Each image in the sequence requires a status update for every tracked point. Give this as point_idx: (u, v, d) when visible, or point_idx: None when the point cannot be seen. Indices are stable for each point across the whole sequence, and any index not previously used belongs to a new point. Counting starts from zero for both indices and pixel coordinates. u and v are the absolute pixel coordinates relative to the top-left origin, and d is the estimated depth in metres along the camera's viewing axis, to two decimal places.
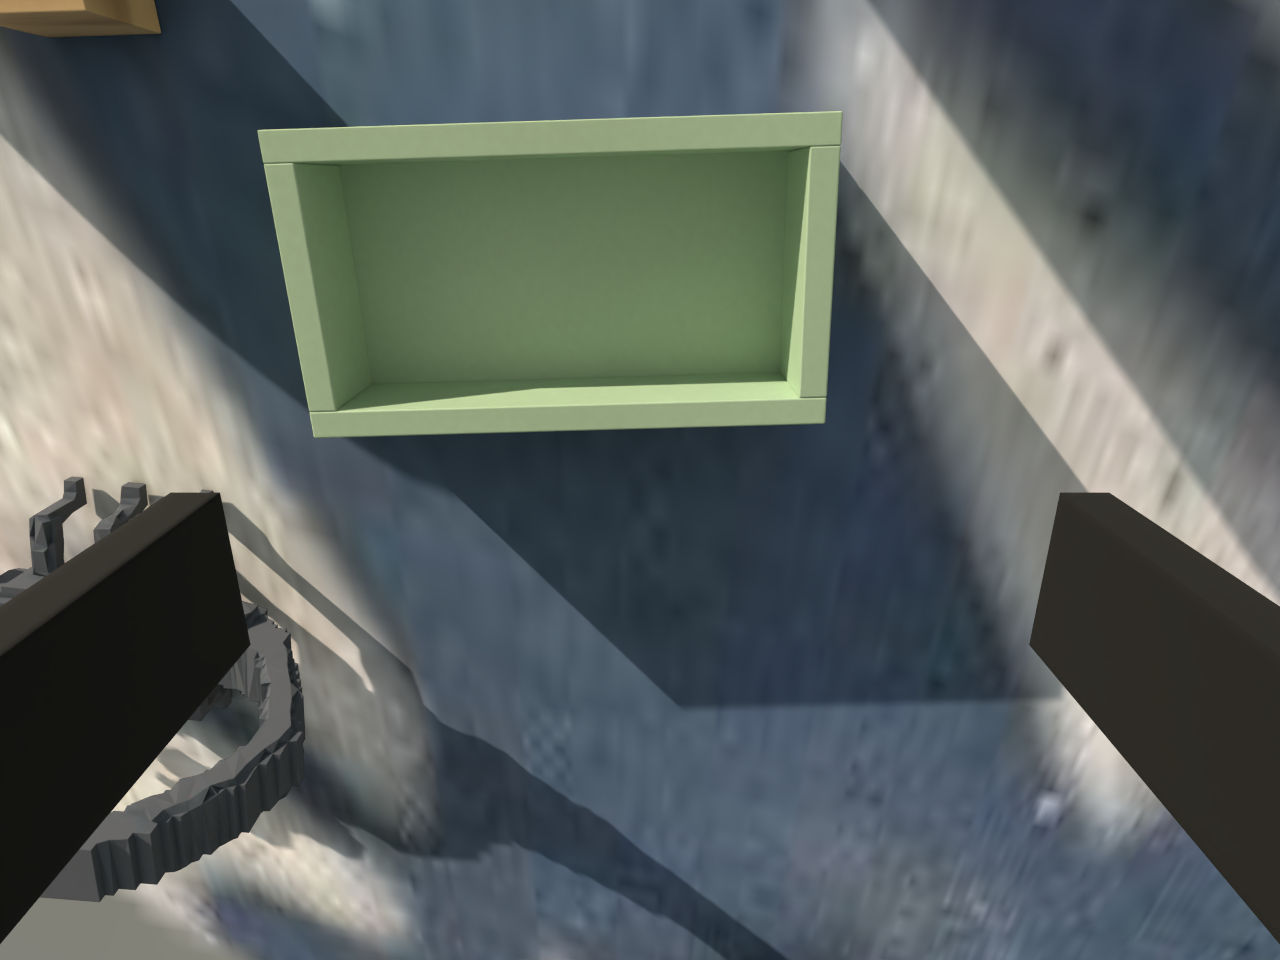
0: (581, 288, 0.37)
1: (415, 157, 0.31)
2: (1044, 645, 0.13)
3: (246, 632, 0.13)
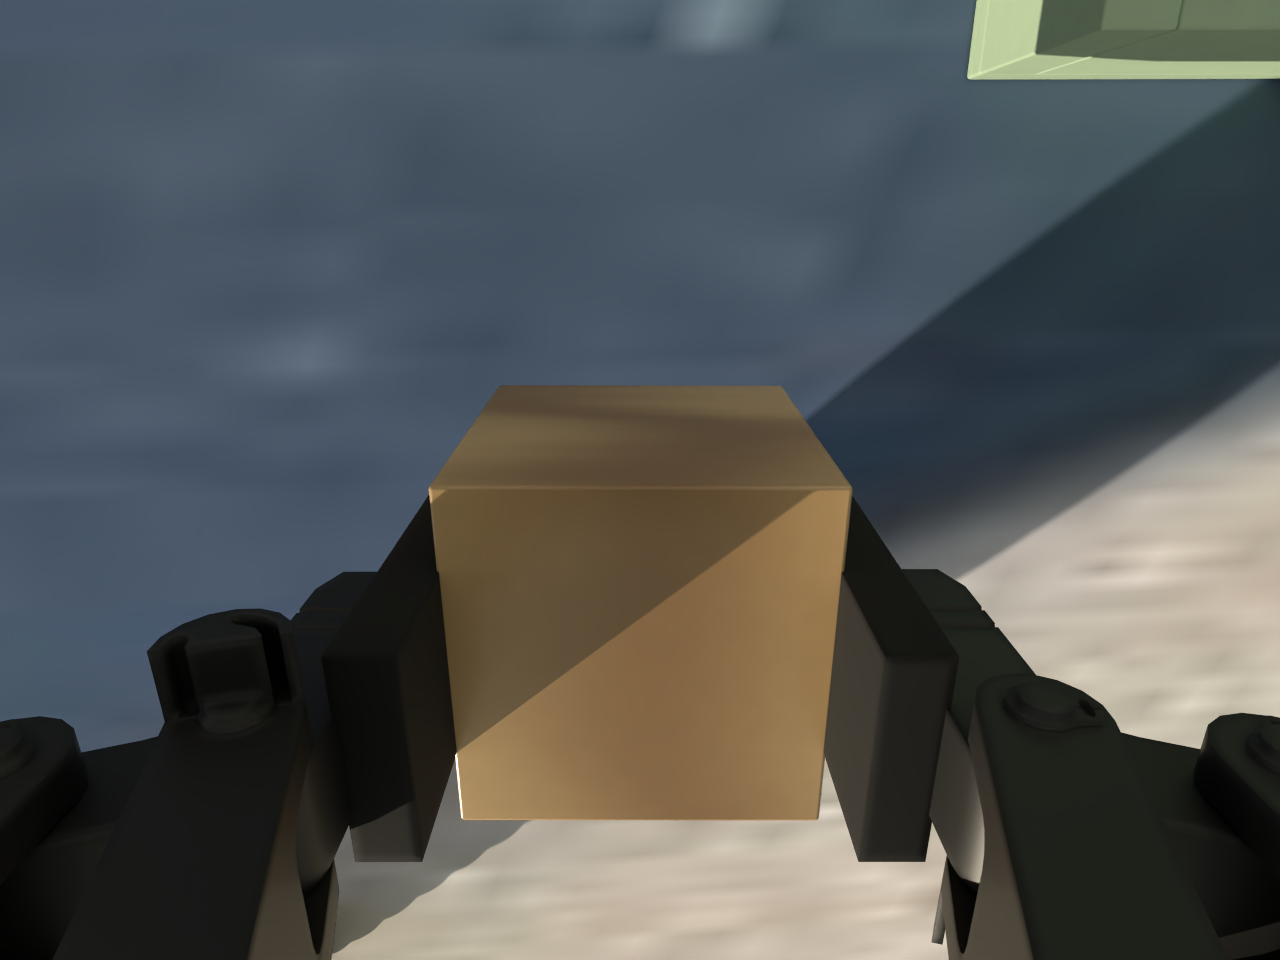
0: None
1: None
2: None
3: None
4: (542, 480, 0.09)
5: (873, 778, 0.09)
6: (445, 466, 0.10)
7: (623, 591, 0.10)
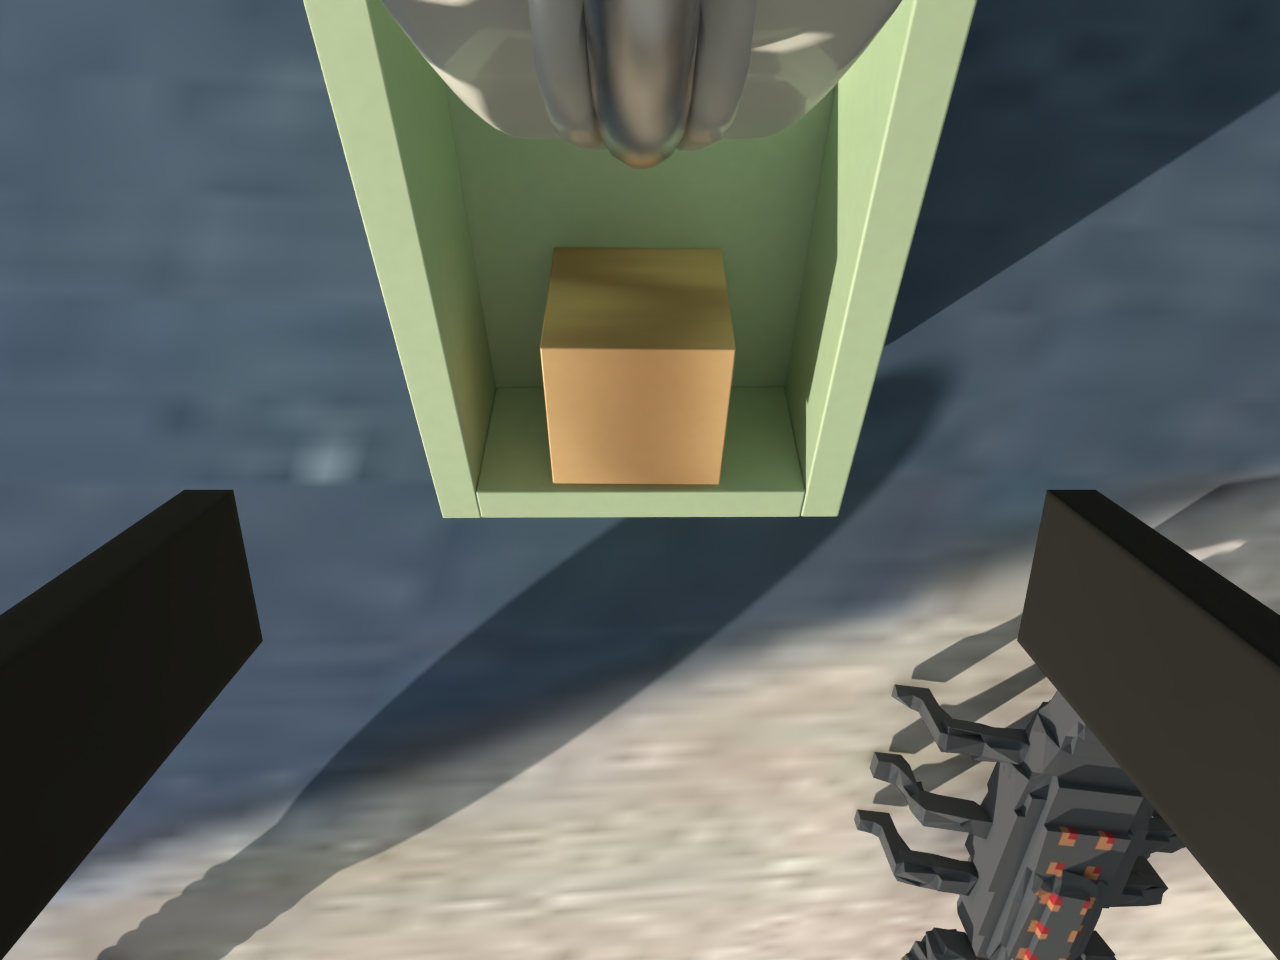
0: None
1: (445, 366, 0.20)
2: (1032, 641, 0.13)
3: (259, 628, 0.13)
4: (592, 343, 0.20)
5: None
6: (543, 331, 0.21)
7: (629, 390, 0.21)
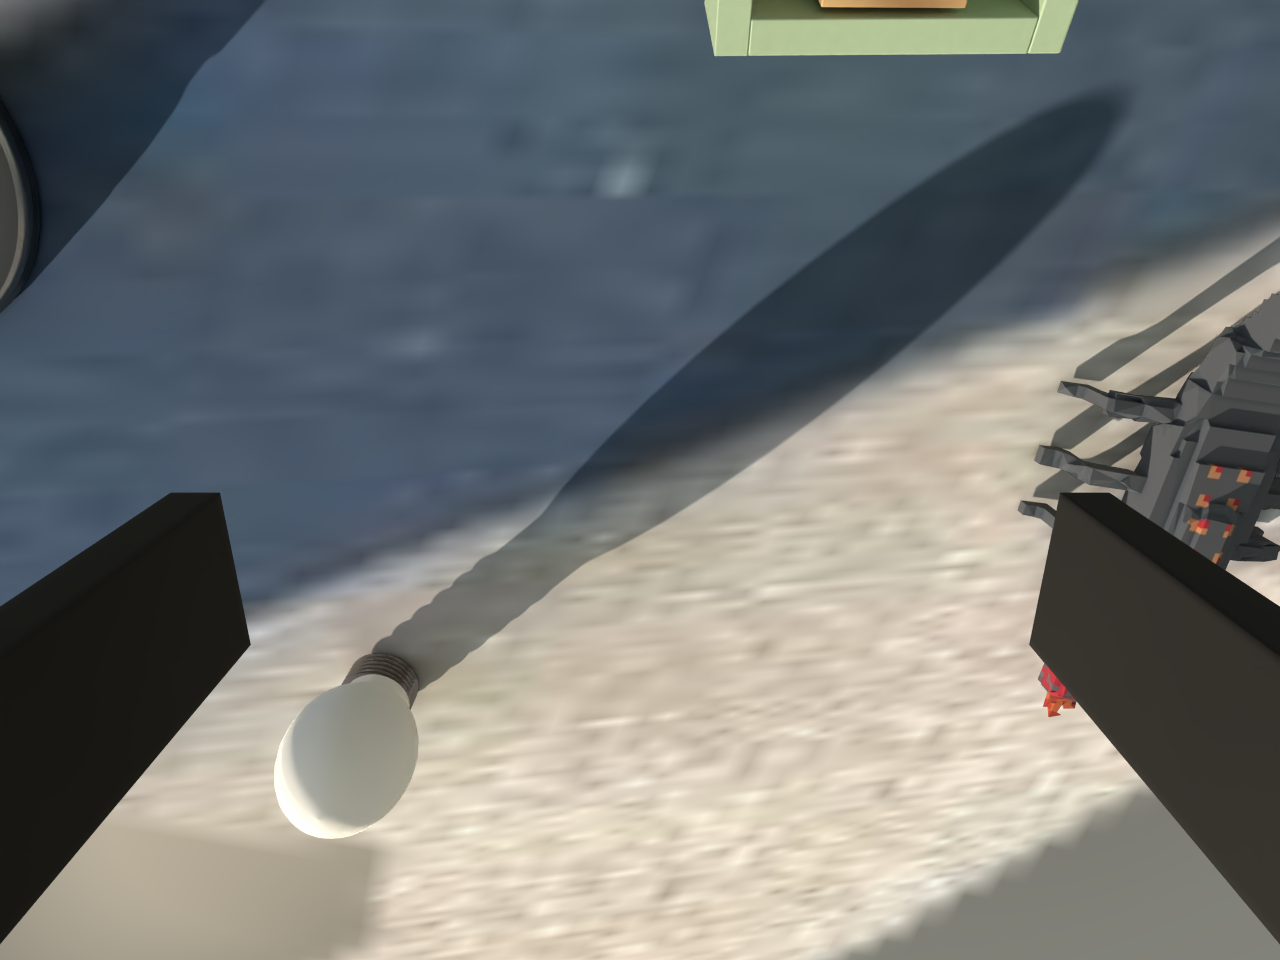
0: None
1: None
2: (1044, 645, 0.13)
3: (246, 632, 0.13)
4: None
5: None
6: None
7: None
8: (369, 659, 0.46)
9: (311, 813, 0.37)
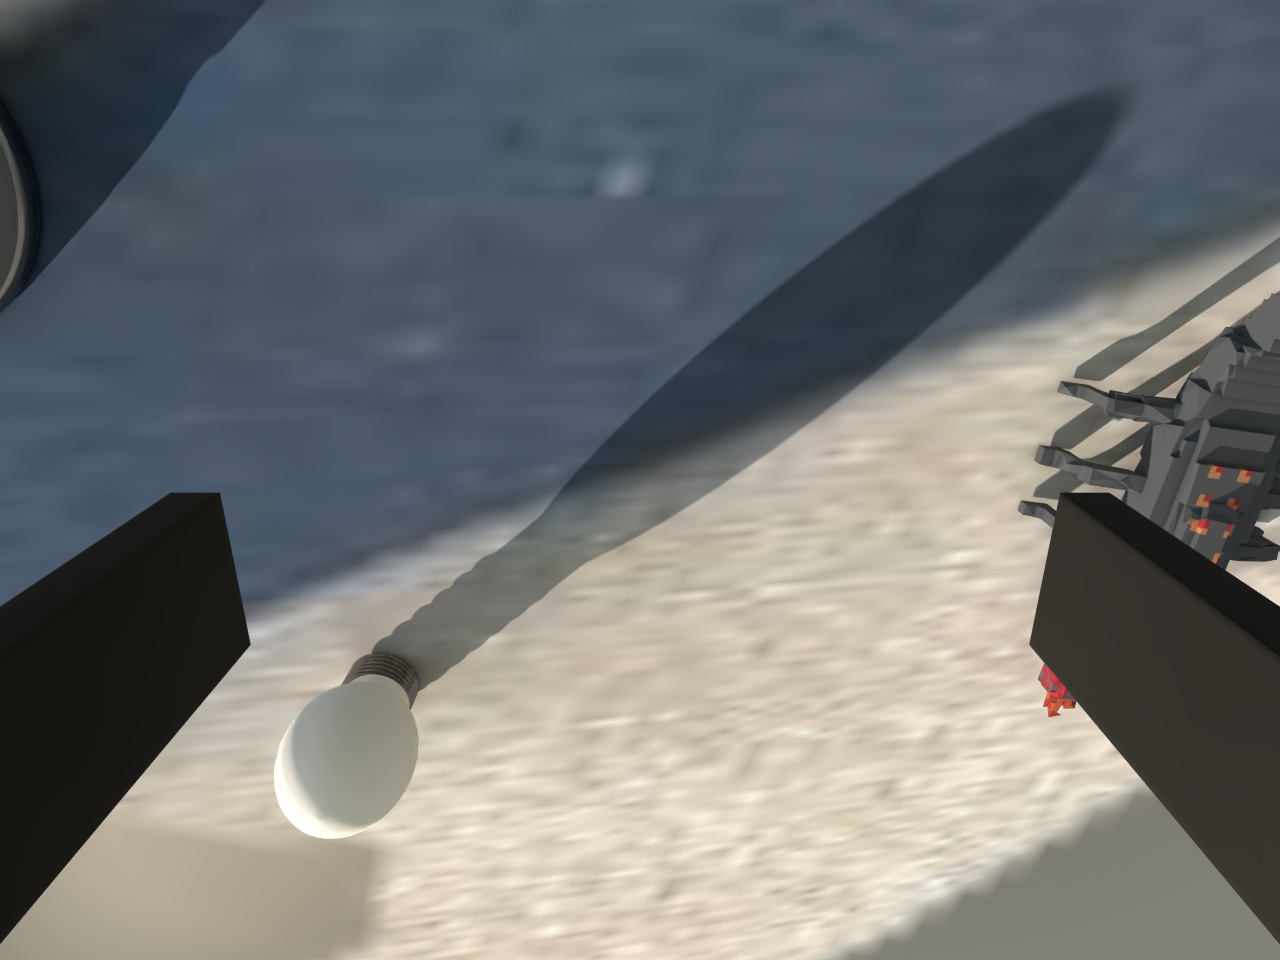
0: None
1: None
2: (1044, 645, 0.13)
3: (246, 632, 0.13)
4: None
5: None
6: None
7: None
8: (369, 659, 0.46)
9: (311, 813, 0.37)
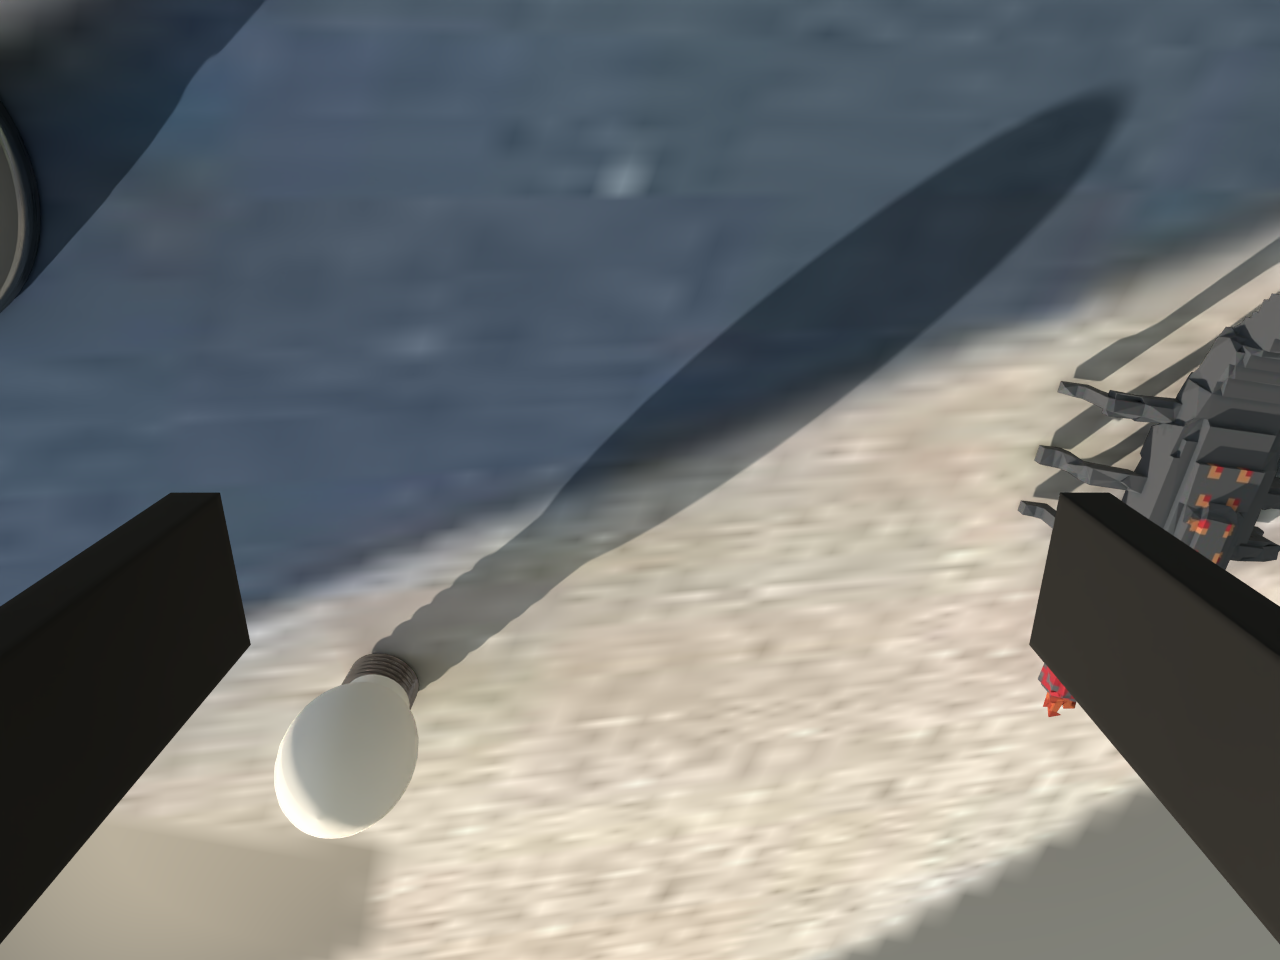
0: None
1: None
2: (1044, 645, 0.13)
3: (246, 632, 0.13)
4: None
5: None
6: None
7: None
8: (369, 659, 0.46)
9: (311, 813, 0.37)
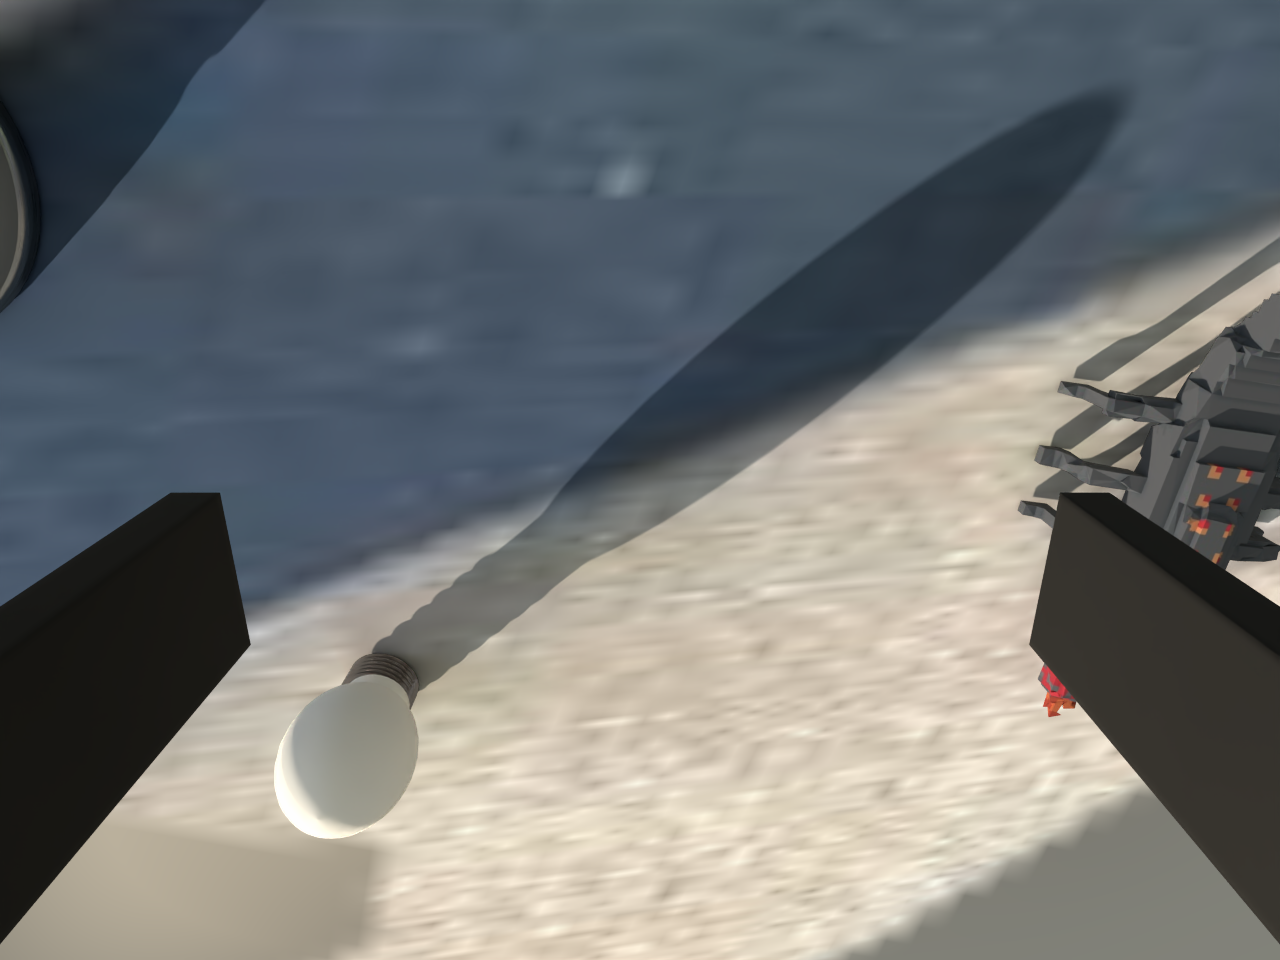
0: None
1: None
2: (1044, 645, 0.13)
3: (246, 632, 0.13)
4: None
5: None
6: None
7: None
8: (369, 659, 0.46)
9: (311, 813, 0.37)
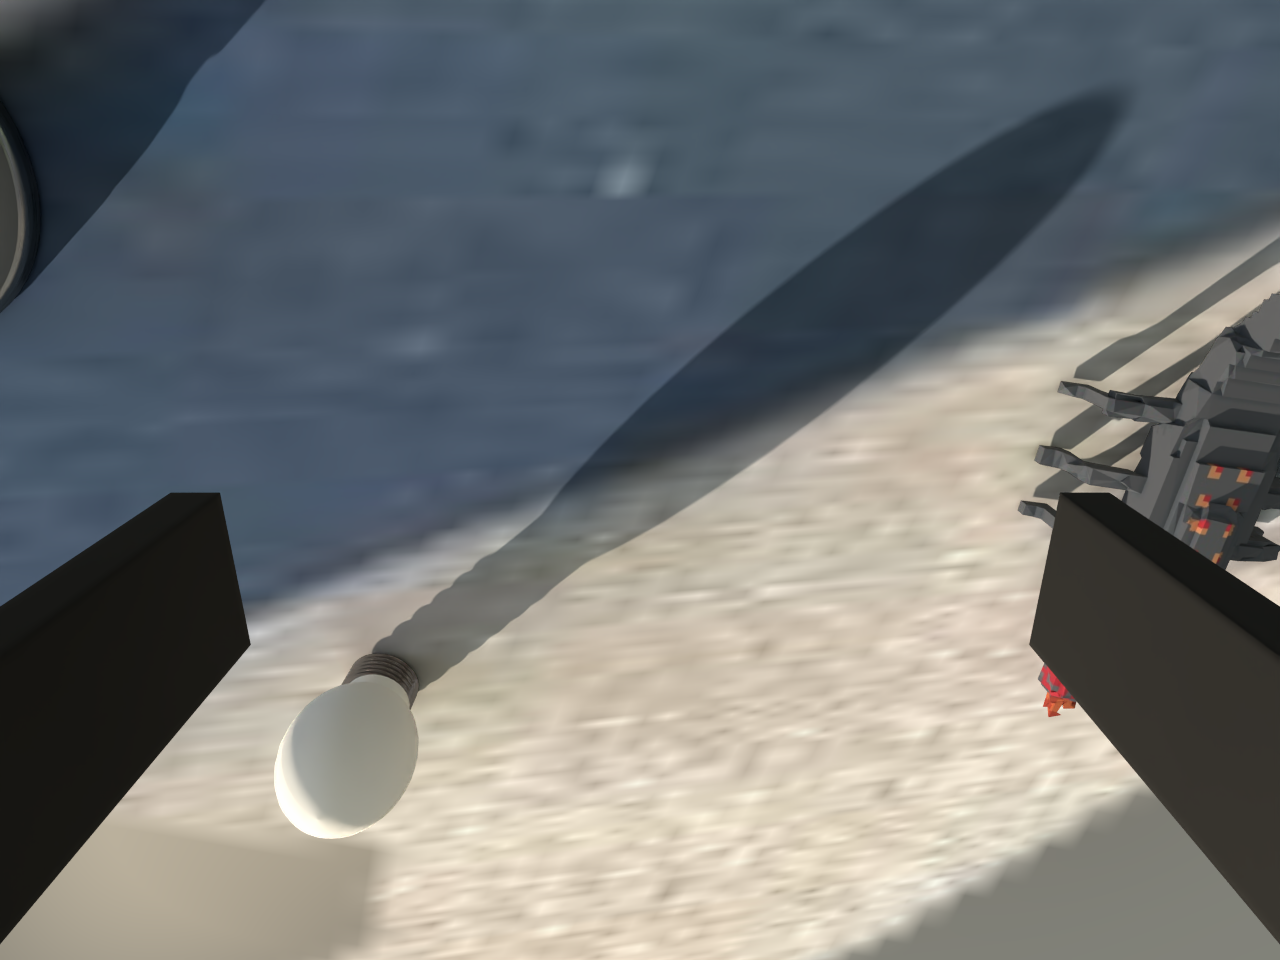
0: None
1: None
2: (1044, 645, 0.13)
3: (246, 632, 0.13)
4: None
5: None
6: None
7: None
8: (369, 659, 0.46)
9: (311, 813, 0.37)
